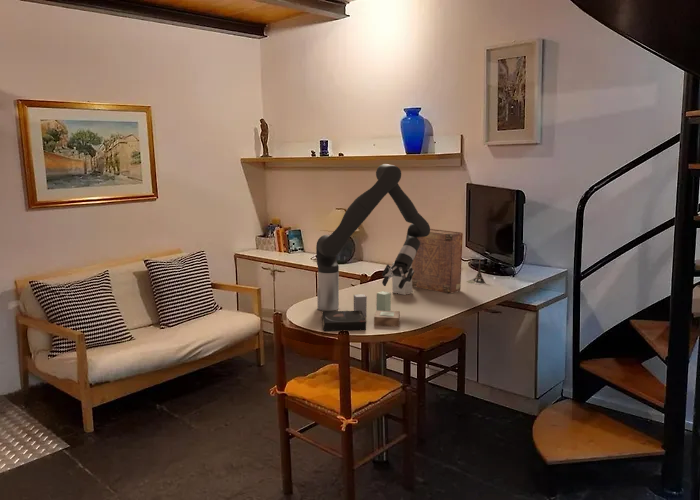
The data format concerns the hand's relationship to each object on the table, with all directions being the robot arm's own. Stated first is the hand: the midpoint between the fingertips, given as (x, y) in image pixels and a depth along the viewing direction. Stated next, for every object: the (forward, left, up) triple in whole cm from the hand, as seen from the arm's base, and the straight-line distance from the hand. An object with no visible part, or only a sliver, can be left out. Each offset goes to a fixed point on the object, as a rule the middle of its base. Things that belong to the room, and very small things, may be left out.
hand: (391, 286), depth 269 cm
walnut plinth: (-1, -20, -11) cm, 23 cm away
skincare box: (+5, +32, -11) cm, 34 cm away
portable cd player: (-19, -25, -11) cm, 34 cm away
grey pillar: (-13, -11, -11) cm, 21 cm away
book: (+22, +44, -11) cm, 50 cm away
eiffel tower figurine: (+46, +62, -11) cm, 78 cm away
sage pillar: (-3, -5, -11) cm, 12 cm away
